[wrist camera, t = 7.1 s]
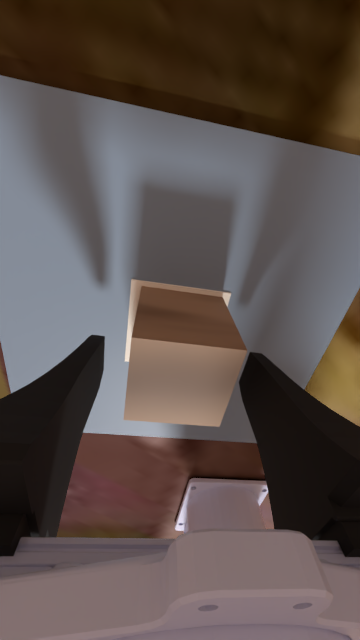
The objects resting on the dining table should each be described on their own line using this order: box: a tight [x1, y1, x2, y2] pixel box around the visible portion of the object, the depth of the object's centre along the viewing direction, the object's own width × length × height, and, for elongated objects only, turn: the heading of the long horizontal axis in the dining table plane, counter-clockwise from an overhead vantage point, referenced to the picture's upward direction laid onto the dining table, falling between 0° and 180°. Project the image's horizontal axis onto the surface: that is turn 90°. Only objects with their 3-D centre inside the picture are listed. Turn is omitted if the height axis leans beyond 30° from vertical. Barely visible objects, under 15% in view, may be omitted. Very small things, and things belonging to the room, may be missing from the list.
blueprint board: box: [0, 75, 360, 443], centre depth 16 cm, size 20×20×1 cm
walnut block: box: [123, 286, 247, 427], centre depth 13 cm, size 4×4×5 cm
